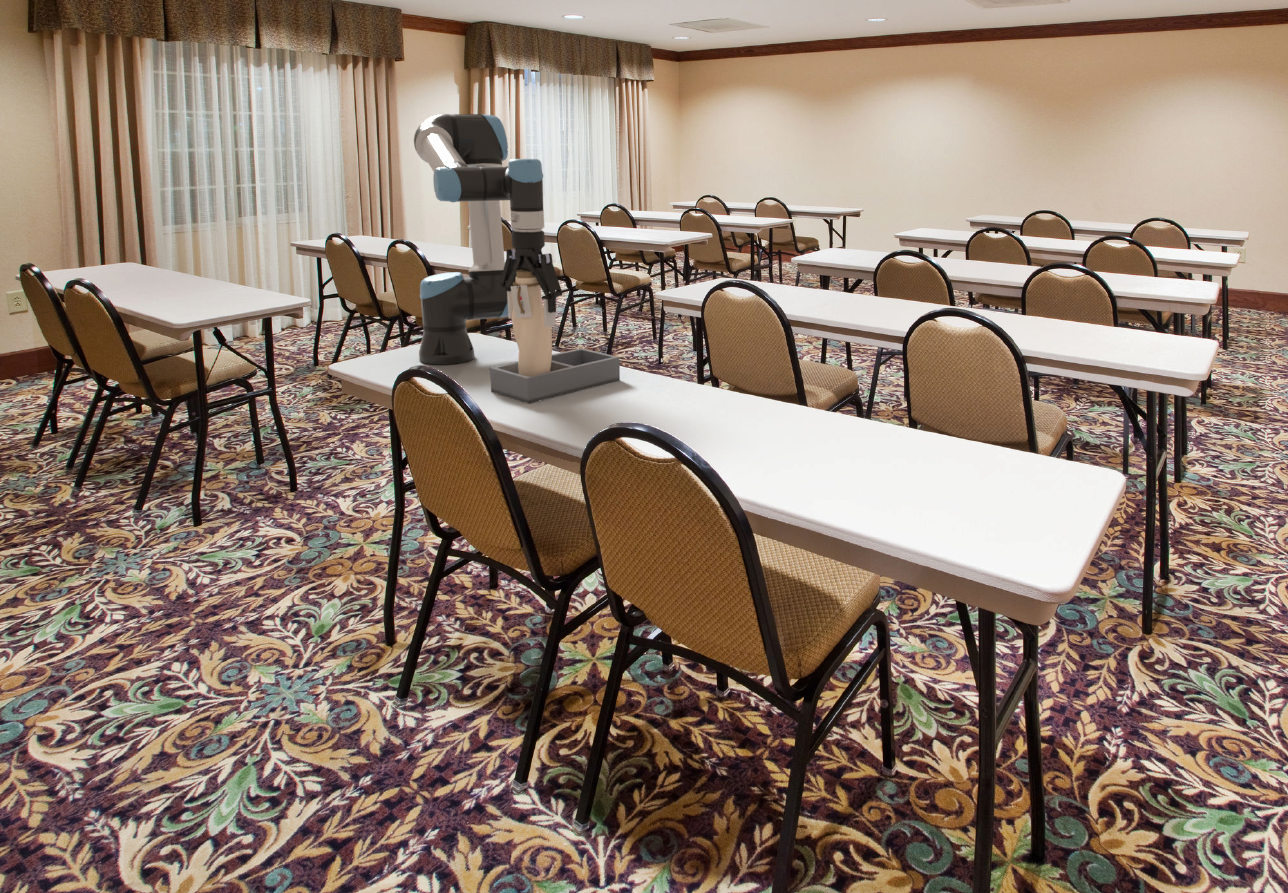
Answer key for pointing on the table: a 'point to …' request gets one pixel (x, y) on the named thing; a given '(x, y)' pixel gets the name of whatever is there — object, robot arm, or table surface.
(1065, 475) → the table surface
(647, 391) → the table surface
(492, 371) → the bottle caddy
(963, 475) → the table surface
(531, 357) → the water bottle
